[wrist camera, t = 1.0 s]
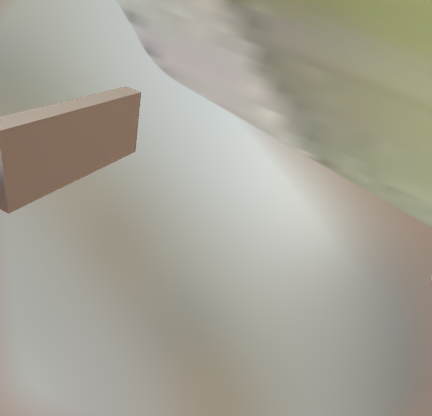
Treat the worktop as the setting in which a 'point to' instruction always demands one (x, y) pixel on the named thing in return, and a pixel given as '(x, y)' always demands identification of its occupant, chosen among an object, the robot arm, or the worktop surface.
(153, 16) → the worktop surface
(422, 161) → the worktop surface
